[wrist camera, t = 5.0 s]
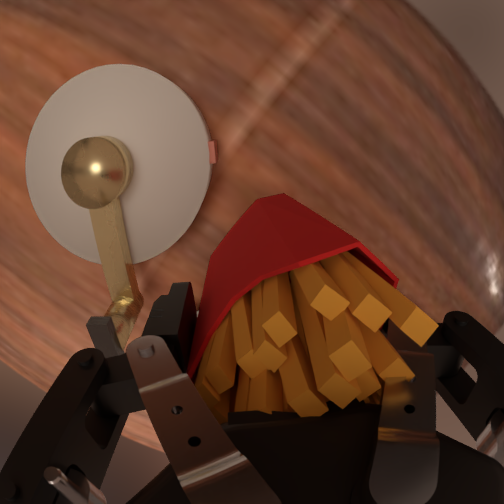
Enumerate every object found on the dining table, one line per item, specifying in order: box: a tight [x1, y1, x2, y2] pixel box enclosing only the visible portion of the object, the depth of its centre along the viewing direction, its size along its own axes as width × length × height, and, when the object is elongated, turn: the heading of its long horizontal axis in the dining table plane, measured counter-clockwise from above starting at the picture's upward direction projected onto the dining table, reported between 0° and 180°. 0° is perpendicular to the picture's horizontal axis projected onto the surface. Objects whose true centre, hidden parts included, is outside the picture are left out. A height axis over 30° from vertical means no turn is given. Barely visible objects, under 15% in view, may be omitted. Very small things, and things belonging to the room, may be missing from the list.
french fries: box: [187, 193, 439, 424], centre depth 12 cm, size 8×4×12 cm, turn 141°
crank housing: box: [26, 64, 218, 264], centre depth 22 cm, size 16×16×4 cm
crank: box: [61, 136, 144, 358], centre depth 19 cm, size 16×5×7 cm, turn 4°
